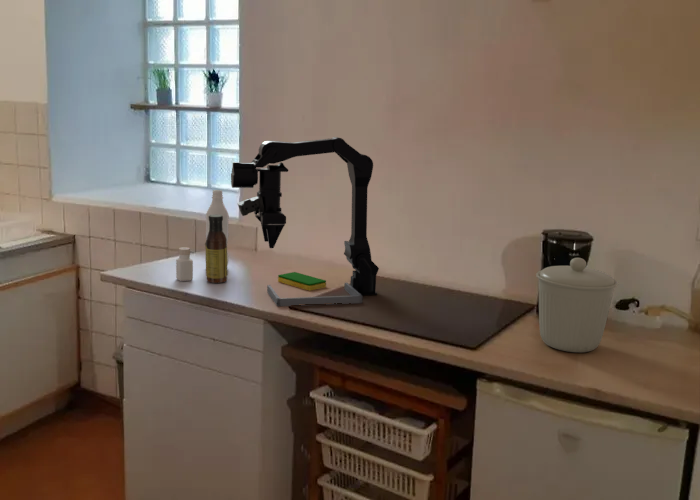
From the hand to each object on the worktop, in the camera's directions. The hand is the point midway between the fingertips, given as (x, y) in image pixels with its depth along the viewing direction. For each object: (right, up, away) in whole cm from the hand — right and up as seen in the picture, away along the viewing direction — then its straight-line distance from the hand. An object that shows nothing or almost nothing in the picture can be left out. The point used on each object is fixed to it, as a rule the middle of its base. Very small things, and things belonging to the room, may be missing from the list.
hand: (268, 244), depth 197 cm
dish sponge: (+8, -12, +17) cm, 23 cm away
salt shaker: (-27, -11, +16) cm, 33 cm away
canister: (+74, -24, -28) cm, 83 cm away
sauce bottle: (-17, -11, +15) cm, 26 cm away
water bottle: (-20, -8, +31) cm, 38 cm away
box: (+12, -15, +3) cm, 19 cm away
